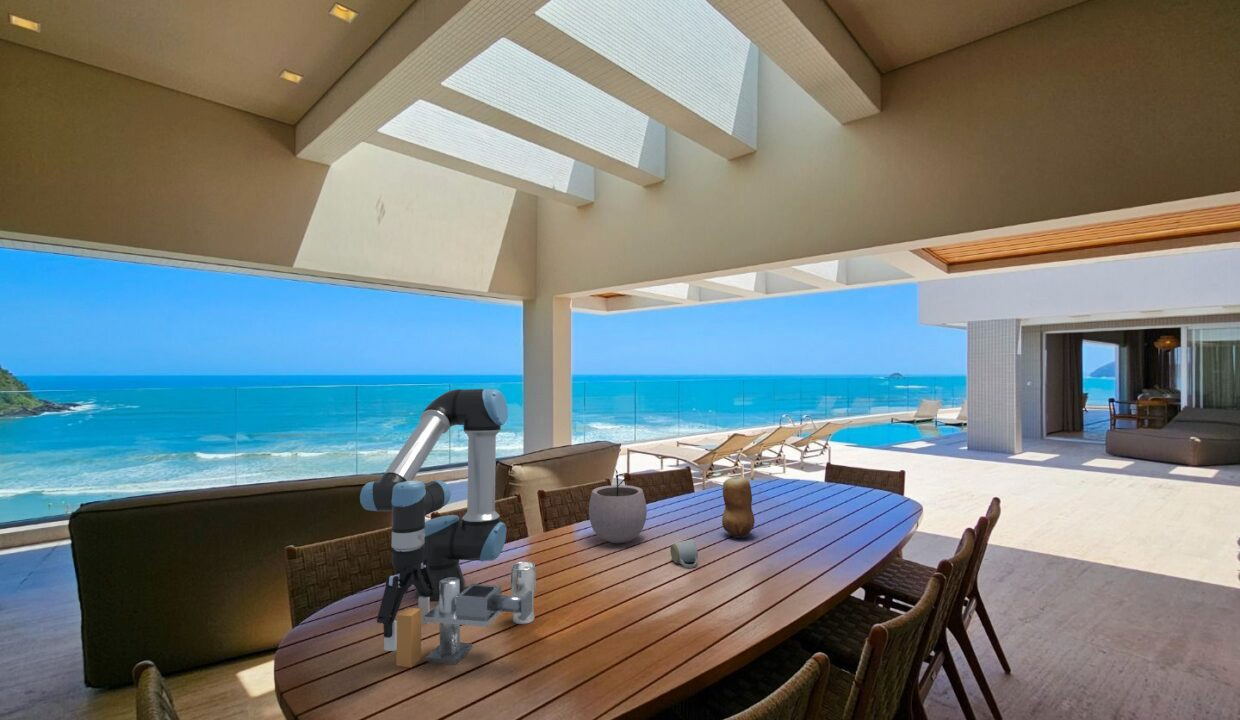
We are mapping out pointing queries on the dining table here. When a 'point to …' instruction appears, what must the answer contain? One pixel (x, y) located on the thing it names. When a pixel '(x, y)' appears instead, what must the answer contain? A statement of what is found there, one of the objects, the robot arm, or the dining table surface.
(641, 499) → the plant pot
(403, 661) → the tan wooden block
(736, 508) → the butternut squash
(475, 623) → the metal pedestal stand
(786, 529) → the dining table surface
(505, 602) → the bracket
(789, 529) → the dining table surface
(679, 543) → the ceramic mug
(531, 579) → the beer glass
